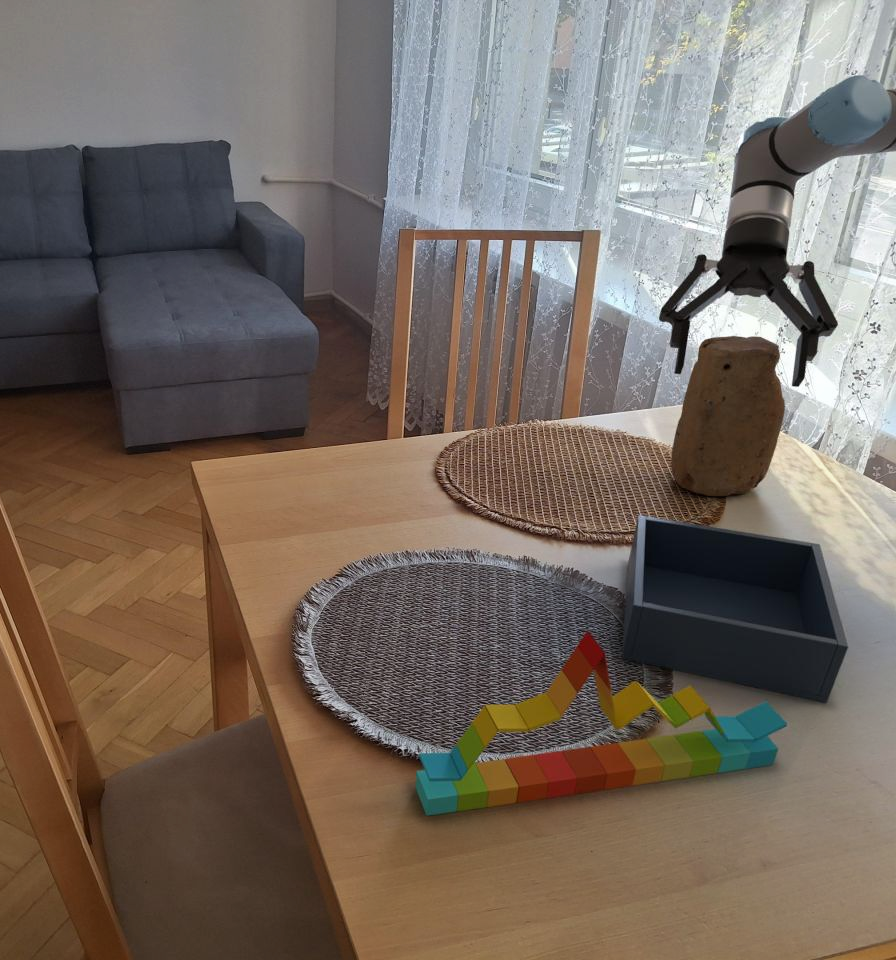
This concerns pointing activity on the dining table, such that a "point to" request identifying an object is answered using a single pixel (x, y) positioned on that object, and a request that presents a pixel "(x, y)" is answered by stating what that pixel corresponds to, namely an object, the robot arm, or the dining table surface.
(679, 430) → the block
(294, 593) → the dining table surface
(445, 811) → the chart
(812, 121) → the robot arm
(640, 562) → the grey storage tray
